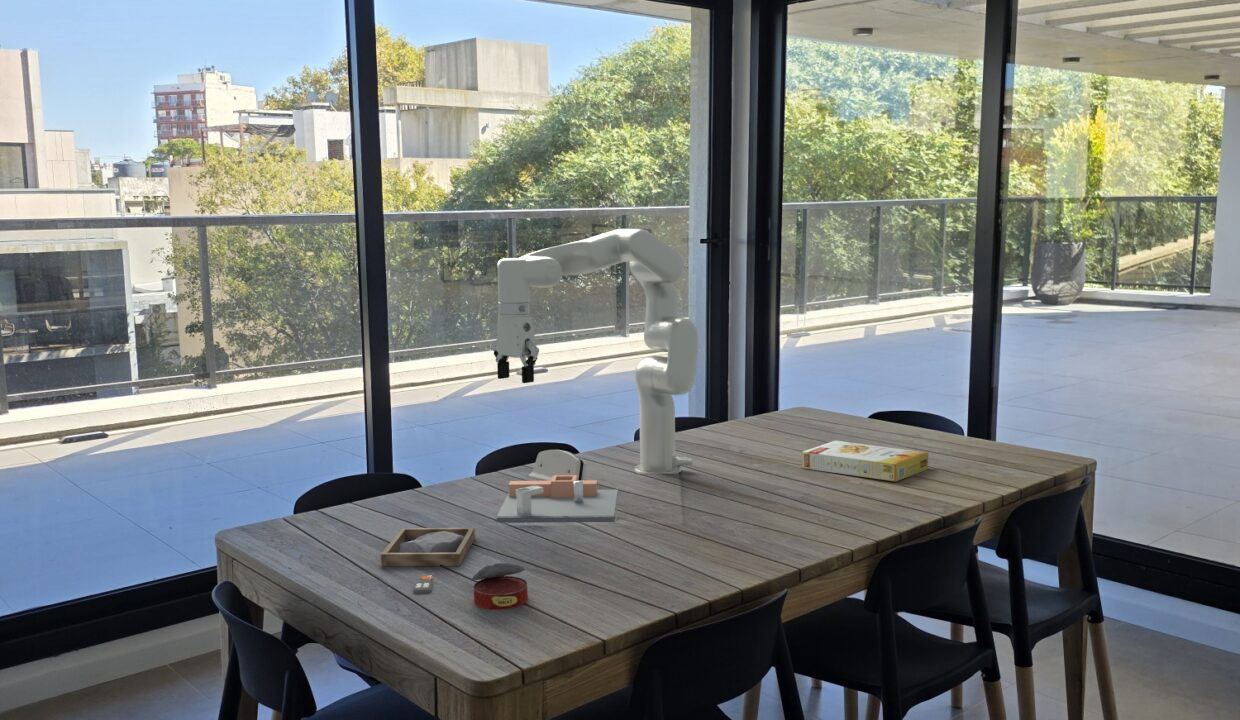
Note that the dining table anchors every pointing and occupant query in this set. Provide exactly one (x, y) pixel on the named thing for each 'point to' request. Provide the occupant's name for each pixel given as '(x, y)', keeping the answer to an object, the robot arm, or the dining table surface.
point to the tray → (424, 559)
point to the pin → (578, 491)
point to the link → (556, 486)
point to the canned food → (499, 587)
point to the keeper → (526, 498)
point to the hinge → (558, 465)
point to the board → (563, 508)
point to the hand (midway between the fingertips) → (515, 380)
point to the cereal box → (865, 460)
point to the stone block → (433, 543)
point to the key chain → (423, 585)
